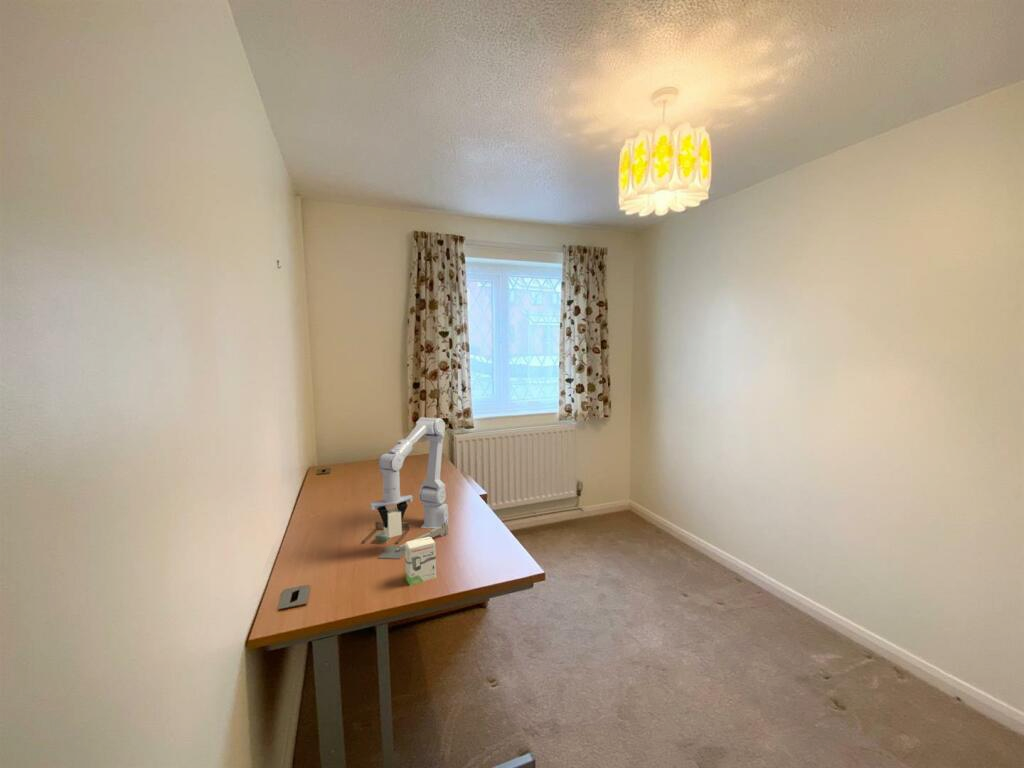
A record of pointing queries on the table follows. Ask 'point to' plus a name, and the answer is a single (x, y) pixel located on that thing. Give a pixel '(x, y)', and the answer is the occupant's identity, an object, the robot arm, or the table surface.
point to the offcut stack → (381, 538)
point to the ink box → (420, 560)
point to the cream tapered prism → (393, 523)
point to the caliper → (429, 534)
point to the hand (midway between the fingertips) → (392, 525)
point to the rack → (381, 527)
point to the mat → (392, 553)
